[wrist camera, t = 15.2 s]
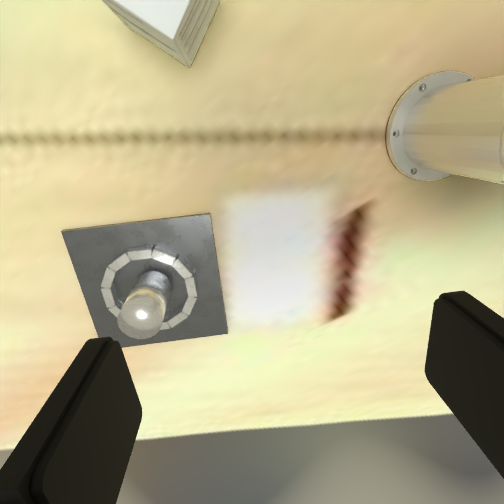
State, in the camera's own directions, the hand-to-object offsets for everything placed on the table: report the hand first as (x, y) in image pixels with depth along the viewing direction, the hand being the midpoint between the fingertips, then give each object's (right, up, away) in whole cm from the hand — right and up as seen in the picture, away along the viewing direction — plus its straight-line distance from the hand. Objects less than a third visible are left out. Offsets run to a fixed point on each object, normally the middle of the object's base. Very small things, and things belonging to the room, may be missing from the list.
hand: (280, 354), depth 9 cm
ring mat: (-15, -2, +35) cm, 38 cm away
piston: (-15, -2, +34) cm, 37 cm away
